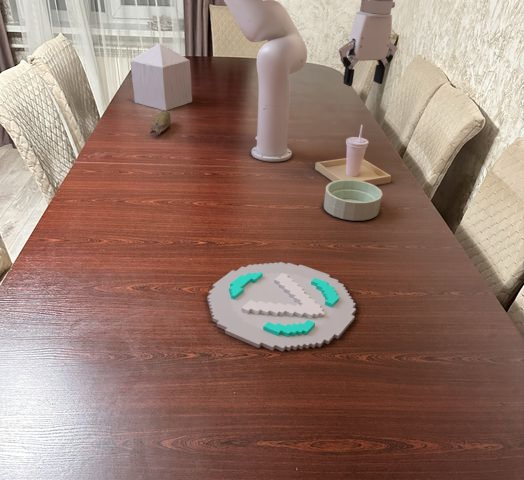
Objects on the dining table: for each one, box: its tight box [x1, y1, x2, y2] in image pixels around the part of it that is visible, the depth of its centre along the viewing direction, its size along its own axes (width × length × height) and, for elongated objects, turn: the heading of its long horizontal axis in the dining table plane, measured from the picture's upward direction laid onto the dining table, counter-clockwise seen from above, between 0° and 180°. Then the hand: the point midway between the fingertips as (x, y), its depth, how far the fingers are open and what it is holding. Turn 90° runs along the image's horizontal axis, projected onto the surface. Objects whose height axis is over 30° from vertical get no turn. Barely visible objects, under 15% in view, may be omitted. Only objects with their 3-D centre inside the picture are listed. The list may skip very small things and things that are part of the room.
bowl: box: [323, 180, 384, 221], centre depth 135 cm, size 14×15×5 cm
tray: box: [314, 157, 392, 186], centre depth 153 cm, size 17×16×2 cm
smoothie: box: [345, 124, 369, 176], centre depth 149 cm, size 6×6×14 cm
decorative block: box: [130, 43, 193, 111], centre depth 196 cm, size 16×16×20 cm
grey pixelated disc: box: [206, 261, 357, 352], centre depth 101 cm, size 28×28×2 cm
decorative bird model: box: [148, 110, 172, 136], centre depth 175 cm, size 5×20×5 cm, turn 175°
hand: (362, 83), depth 138 cm, fingers open, 9 cm apart
